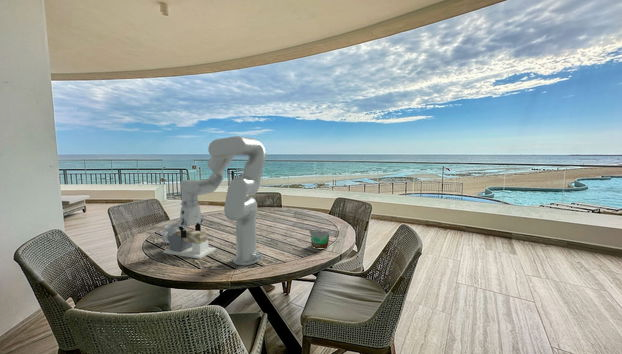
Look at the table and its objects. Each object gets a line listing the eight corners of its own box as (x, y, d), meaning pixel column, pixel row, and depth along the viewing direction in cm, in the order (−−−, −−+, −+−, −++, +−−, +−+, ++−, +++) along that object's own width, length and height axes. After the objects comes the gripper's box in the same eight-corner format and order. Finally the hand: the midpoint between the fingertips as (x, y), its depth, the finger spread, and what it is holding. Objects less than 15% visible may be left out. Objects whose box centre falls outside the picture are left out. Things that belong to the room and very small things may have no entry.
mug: (171, 239, 144) (171, 223, 143) (185, 240, 143) (184, 224, 142) (156, 247, 132) (155, 229, 131) (170, 247, 131) (170, 230, 130)
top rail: (206, 241, 124) (205, 232, 124) (200, 243, 121) (200, 234, 120) (182, 237, 129) (182, 229, 129) (176, 240, 125) (176, 231, 125)
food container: (306, 249, 129) (306, 231, 129) (309, 245, 135) (309, 228, 134) (328, 251, 126) (329, 233, 126) (330, 247, 132) (330, 230, 132)
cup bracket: (216, 249, 128) (215, 233, 127) (199, 258, 116) (199, 241, 116) (182, 244, 135) (181, 229, 134) (163, 252, 124) (162, 236, 123)
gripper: (182, 206, 114) (183, 240, 115) (207, 200, 130) (208, 230, 132) (170, 205, 116) (171, 239, 118) (196, 200, 133) (197, 229, 134)
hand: (191, 234), depth 125 cm, fingers open, 9 cm apart
